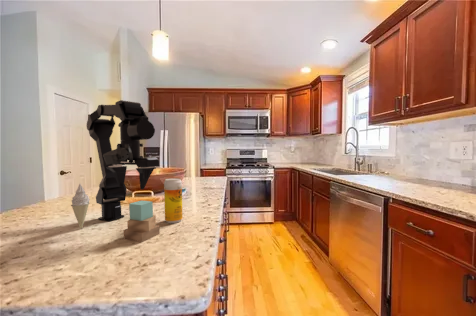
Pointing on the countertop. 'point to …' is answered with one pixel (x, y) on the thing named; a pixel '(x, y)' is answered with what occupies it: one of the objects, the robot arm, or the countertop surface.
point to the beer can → (173, 200)
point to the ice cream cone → (80, 205)
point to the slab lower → (141, 234)
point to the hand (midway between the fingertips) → (131, 188)
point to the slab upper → (141, 224)
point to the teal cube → (141, 210)
